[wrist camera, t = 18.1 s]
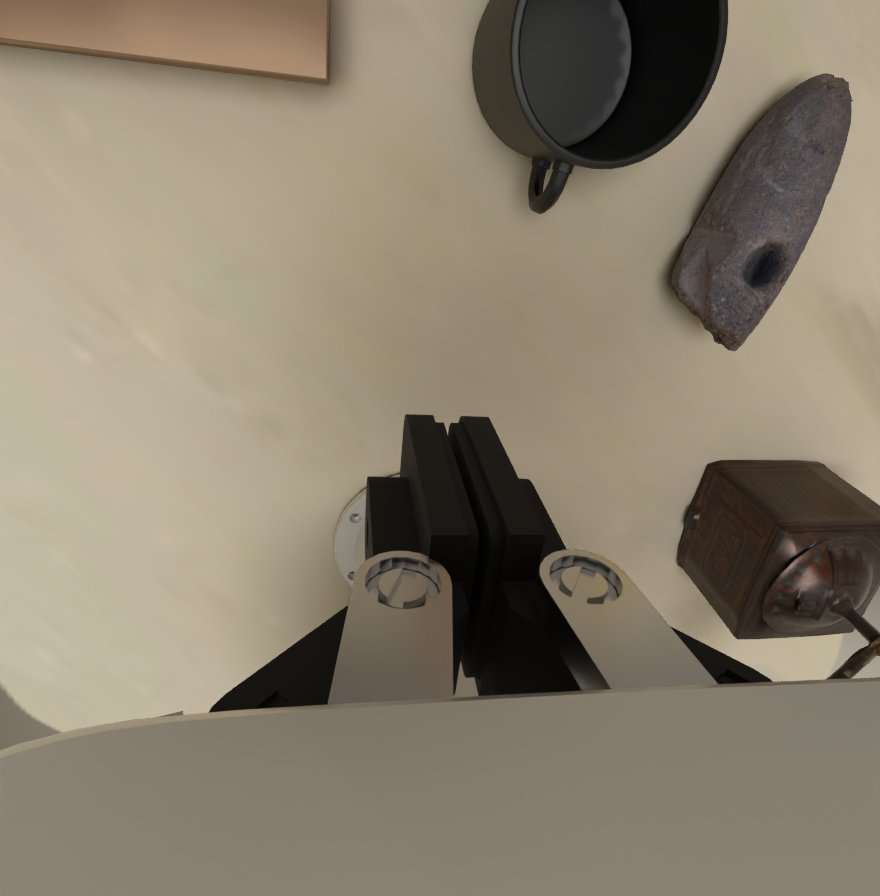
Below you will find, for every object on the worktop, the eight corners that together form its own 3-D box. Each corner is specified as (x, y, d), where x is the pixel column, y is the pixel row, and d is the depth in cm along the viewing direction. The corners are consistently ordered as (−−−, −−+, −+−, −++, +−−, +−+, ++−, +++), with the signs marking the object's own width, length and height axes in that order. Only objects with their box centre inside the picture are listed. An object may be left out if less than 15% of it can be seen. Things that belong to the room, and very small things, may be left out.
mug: (439, 181, 34) (466, 198, 26) (500, -75, 29) (557, -150, 21) (584, 222, 37) (648, 248, 29) (665, -9, 31) (771, -55, 23)
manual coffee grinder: (700, 459, 47) (877, 626, 31) (822, 459, 48) (1048, 618, 33) (651, 605, 54) (774, 800, 38) (759, 601, 56) (919, 786, 40)
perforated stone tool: (762, 59, 34) (853, 44, 28) (830, 98, 35) (930, 92, 29) (634, 305, 40) (685, 337, 34) (696, 329, 41) (756, 364, 35)
